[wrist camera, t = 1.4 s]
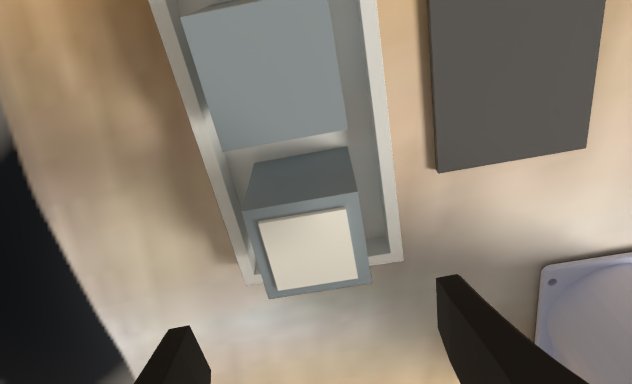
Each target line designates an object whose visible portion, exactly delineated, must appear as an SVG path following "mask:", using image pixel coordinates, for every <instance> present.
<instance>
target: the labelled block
mask: <svg viewBox="0 0 632 384" xmlns="http://www.w3.org/2000/svg"><path fill="white" fill-rule="evenodd" d="M241 213H242V216H243V219H244V222H245V225H246V228H247V232H248V235H249V238H250V241H251V244H252V248H253V251H254V254H255V257H256V260H257V263H258V267H259V270H260V273H261V276H262V279H263V282H264V286H265V289H266V292H267V295H268V298H269V299H274V298H280V297H286V296H293V295H299V294H306V293H312V292H319V291H325V290H332V289H338V288H344V287H351V286H357V285H364V284H370V283H372V279H371V273H370V266H369V260H368V254H367V247H366V241H365V234H364V228H363V221H362V215H361V209H360V202H359V196H358V190H357V186H356V181H355V177H354V172H353V168H352V164H351V159H350V155H349V151H348V146H346V147H340V148H335V149H329V150H324V151H318V152H312V153H307V154H301V155H296V156H290V157H284V158H279V159H273V160H268V161H262V162H256V163H254V165H253V169H252V173H251V177H250V180H249V184H248V188H247V192H246V195H245V199H244V203H243V207H242V210H241Z"/></svg>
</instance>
